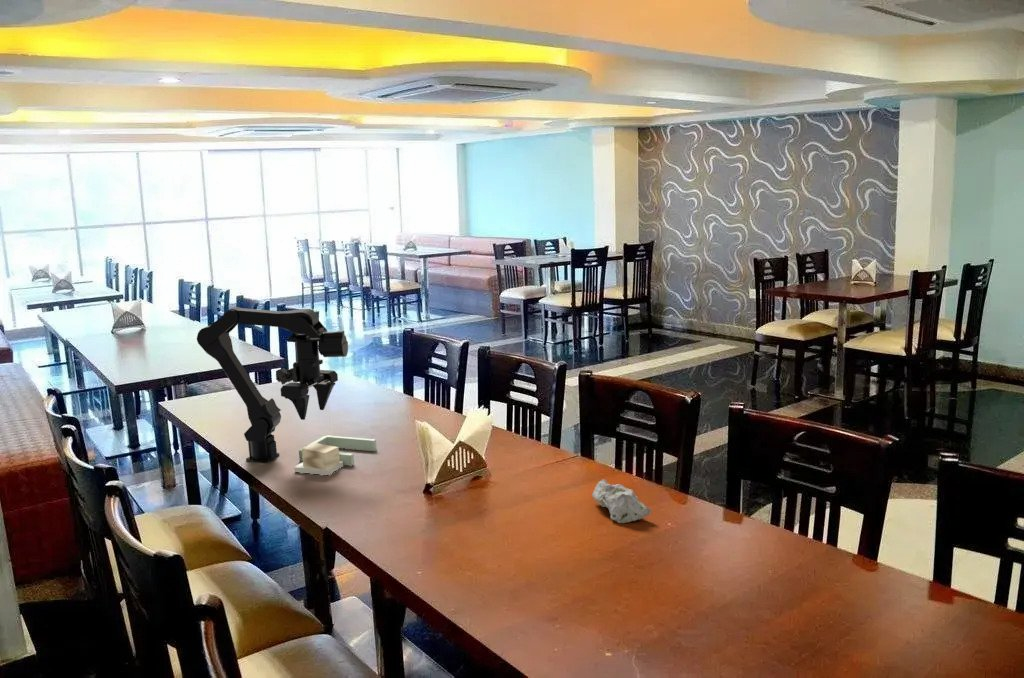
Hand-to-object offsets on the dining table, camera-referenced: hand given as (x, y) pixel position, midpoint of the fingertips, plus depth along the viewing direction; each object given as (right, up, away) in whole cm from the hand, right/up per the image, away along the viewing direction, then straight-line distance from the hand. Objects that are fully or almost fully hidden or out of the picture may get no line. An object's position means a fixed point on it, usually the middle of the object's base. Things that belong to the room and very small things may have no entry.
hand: (312, 414), depth 217 cm
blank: (+4, -12, -8) cm, 15 cm away
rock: (+76, -18, -40) cm, 88 cm away
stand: (+3, -14, -7) cm, 16 cm away
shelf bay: (+7, -11, +3) cm, 14 cm away
